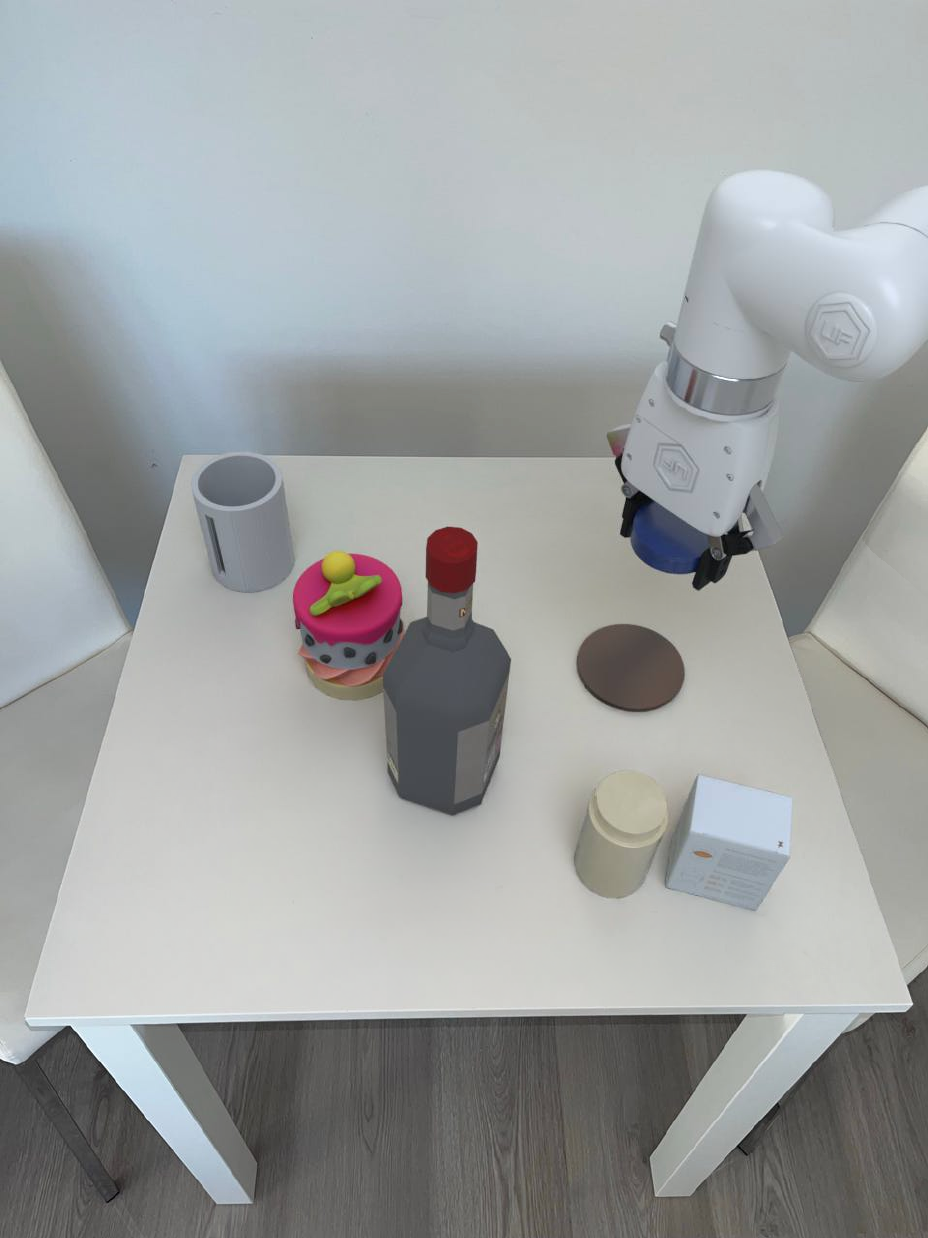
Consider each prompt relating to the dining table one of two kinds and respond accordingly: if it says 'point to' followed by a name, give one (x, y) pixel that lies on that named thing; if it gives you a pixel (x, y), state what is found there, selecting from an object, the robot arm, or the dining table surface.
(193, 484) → the cup
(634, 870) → the jar
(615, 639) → the coaster
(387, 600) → the cake
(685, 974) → the dining table surface
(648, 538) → the lid
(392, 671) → the liquor
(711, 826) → the small box
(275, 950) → the dining table surface
